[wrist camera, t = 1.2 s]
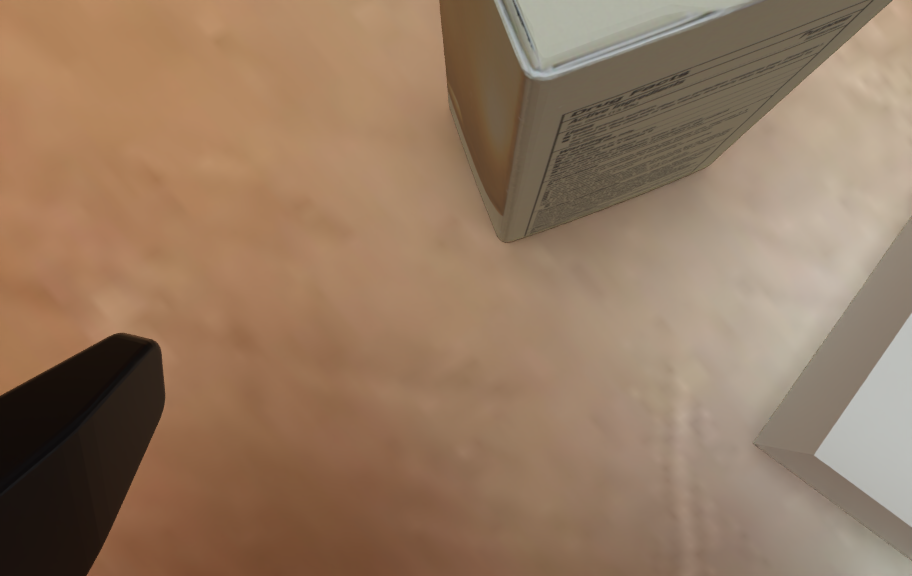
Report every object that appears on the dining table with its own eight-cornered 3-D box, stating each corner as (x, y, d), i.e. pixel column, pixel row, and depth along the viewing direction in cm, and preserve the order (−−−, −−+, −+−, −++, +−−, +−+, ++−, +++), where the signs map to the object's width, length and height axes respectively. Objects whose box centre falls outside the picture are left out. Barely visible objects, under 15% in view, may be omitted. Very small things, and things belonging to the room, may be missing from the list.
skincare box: (651, 27, 22) (883, -402, 10) (712, 170, 22) (1032, -100, 10) (433, 106, 22) (403, -237, 10) (490, 252, 22) (532, 81, 9)
